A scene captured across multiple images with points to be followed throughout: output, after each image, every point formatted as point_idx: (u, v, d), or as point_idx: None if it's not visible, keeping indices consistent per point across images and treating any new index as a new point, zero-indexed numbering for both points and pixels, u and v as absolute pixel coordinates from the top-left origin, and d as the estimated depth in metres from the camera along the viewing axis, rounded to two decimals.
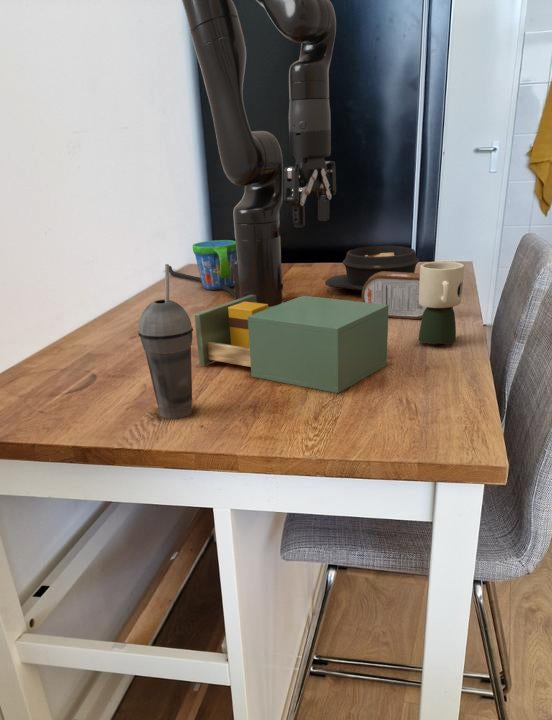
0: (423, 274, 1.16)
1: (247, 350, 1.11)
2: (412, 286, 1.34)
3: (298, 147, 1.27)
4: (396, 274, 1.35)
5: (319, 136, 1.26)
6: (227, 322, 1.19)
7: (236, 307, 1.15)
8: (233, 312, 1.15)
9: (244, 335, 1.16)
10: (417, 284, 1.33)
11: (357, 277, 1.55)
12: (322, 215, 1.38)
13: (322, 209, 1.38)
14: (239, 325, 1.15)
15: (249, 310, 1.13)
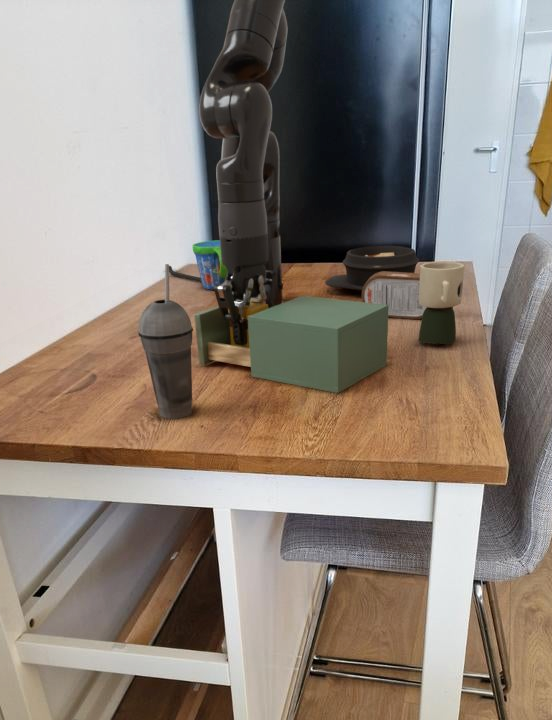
0: (423, 274, 1.16)
1: (247, 350, 1.11)
2: (412, 286, 1.34)
3: (229, 255, 1.09)
4: (396, 274, 1.35)
5: (253, 243, 1.08)
6: (227, 322, 1.19)
7: None
8: None
9: None
10: (417, 284, 1.33)
11: (357, 277, 1.55)
12: None
13: None
14: None
15: (249, 310, 1.13)
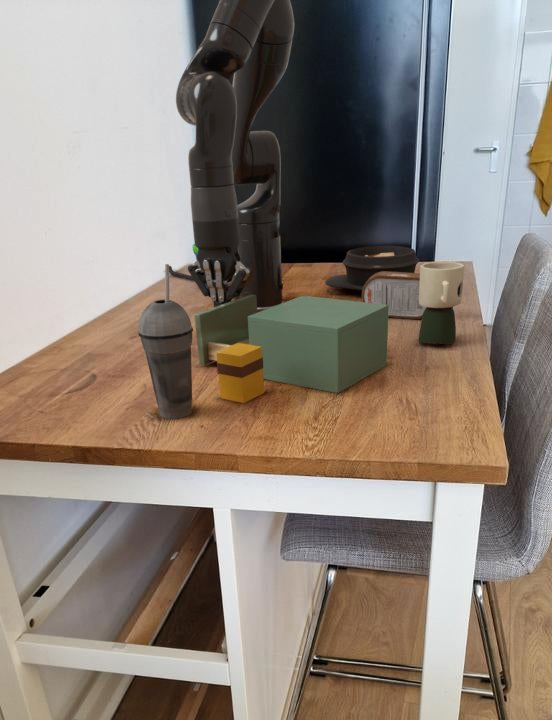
0: (423, 274, 1.16)
1: None
2: (412, 286, 1.34)
3: None
4: (396, 274, 1.35)
5: (194, 226, 1.15)
6: (227, 322, 1.19)
7: (234, 345, 1.03)
8: None
9: None
10: (417, 284, 1.33)
11: (357, 277, 1.55)
12: None
13: None
14: None
15: (219, 351, 1.01)
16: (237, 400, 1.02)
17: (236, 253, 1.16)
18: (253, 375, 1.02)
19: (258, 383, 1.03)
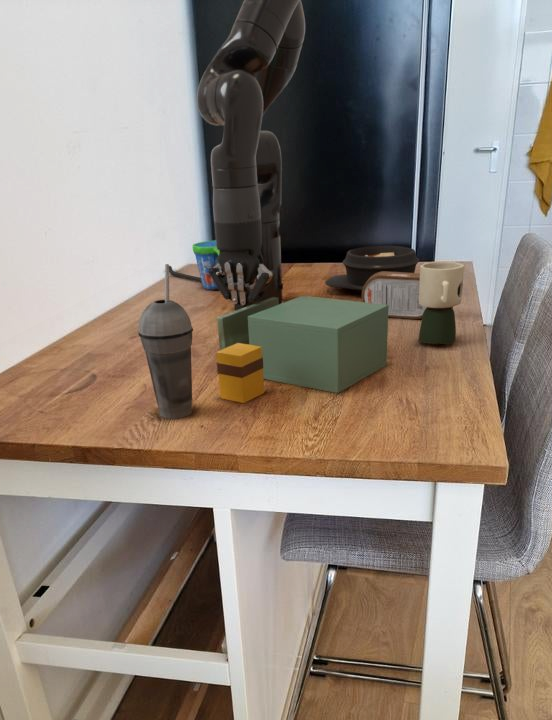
0: (423, 274, 1.16)
1: None
2: (412, 286, 1.34)
3: None
4: (396, 274, 1.35)
5: (216, 228, 1.12)
6: None
7: (234, 345, 1.03)
8: None
9: None
10: (417, 284, 1.33)
11: (357, 277, 1.55)
12: None
13: None
14: None
15: (219, 351, 1.01)
16: (237, 400, 1.02)
17: (259, 255, 1.14)
18: (253, 375, 1.02)
19: (258, 383, 1.03)
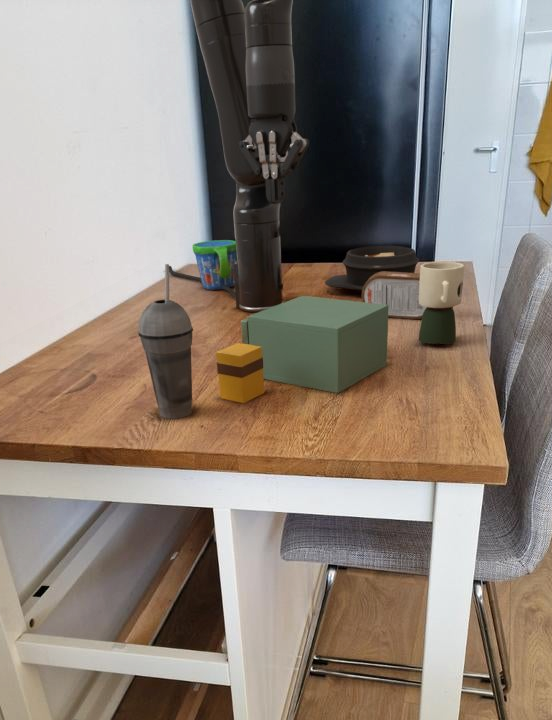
0: (423, 274, 1.16)
1: None
2: (412, 286, 1.34)
3: None
4: (396, 274, 1.35)
5: (248, 92, 1.09)
6: None
7: (234, 345, 1.02)
8: None
9: None
10: (417, 284, 1.33)
11: (357, 277, 1.55)
12: None
13: None
14: None
15: (219, 351, 1.01)
16: (237, 400, 1.02)
17: (292, 123, 1.11)
18: (253, 375, 1.02)
19: (258, 383, 1.03)
